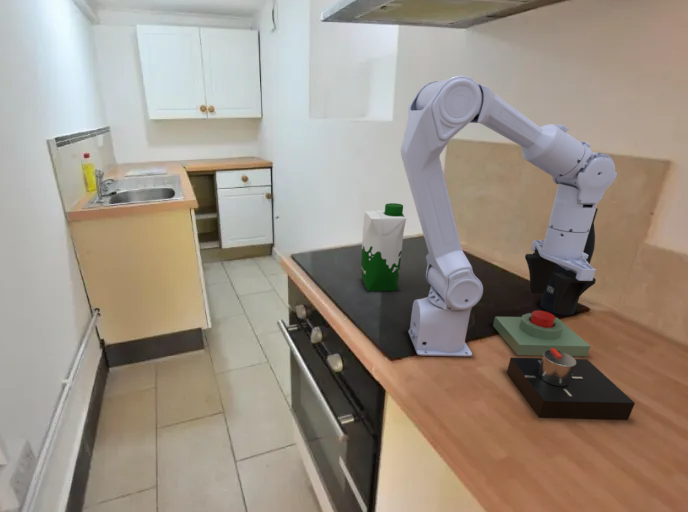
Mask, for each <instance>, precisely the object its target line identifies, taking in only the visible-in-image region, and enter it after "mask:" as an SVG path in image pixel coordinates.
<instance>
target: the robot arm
mask: <svg viewBox="0 0 688 512" xmlns="http://www.w3.org/2000/svg"><path fill="white" fill-rule="evenodd" d="M407 116H408V117H407V121H406V126H405V130H404V134H403V138H402V143H401V146H400V156H401V161H402V164H403V167H404V170H405V175H406V179H407V180H408V185H409V188H410V191H411V195H412V199H413V202H414V206H415V209H416V213H417V215H418V216H417V217H418V220H419V223H420V227H421V231H422V235H423V237H424V241H425V244H426V249H427V252H428V253H427V255H426V256H425V260H426V264H427V266H426V270H425V279H426V281H427V283H428V284H429V286H430V288H429V292H428V296H427V297H426V296H425V297H423V298H417V299H414V301H413V303H412V308H411V315H410V324H409V325H410V326H409V329H408V335H409V338H410V341H411V343H412V345H413V347H414V350H415V352H416V354H417V355H418V356H425V357H429V356H433V357H472V356H473V352H472V351H471V349H470V347H469V346H468V344H467V343H466V339H467V338H466V337H467V332H468V328H469V322H470V316H471V311H472V310H473V307H475V306H476V305H477V304H478V303H479V302H480V300H481V299H482V297H483V293H484V286H483V283H482V281H481V280H480V279H479V278H478V277H477V276H476V275H475V273H474V271H473V266H472V264H471V263H470V261H469V259H468V257H467V256H466V254H465V253H464V252H465V251H463V248H462V244H461V240H460V236H459V231H458V227H457V223H456V220H455V219H456V218H455V215H454V211H453V208H452V203H451V199H450V195H449V191H448V187H447V183H446V179H445V174H444V170H443V166H442V162H441V159H440V157H441V154H442V152H443V151H444V149H445V148H446V147H447V145H448V143H449V142H450V140H451V139H453V138H454V137H455V136H456V135H457V134H458V133H459V132H461V131H462V130H463V129H464V128H465V127H467V125H469V124H480V125H482V126H484V127H486V128H488V129H490V130H492V131H493V132H495V133H497V134H499V135H500V136H503V137H504V138H506V139H508V140H509V141H511V142H513V143H515V144H516V145H519V146H521V155H522V158H523V159H524V160H525V161H527V162H528V163H530V164H531V165H533V166H534V167H536V168H538V169H539V170H541V171H542V172H544V173H546V174H548V175H549V176H551V178H552V181H553V182H554V183H555V184H556V185H557V189H556V193H555V196H554V200H553V205H552V207H551V211H550V216H549V220H548V224H547V228H546V232H545V237H544V239H533V240H532V244H531V247H530V249H531V251H533V252H532V253H526V254H525V255H524V259H525V261H526V264H527V267H528V273H529V290H530V293H531V294H543V293H544V291H545V290H546V288H547V285H548V282H549V279H550V277H551V275H552V273H553V271H554V269H555V268H556V266H557V265H560V266H561V267H563V268H564V269H566V270H568V271H567V274H566V273H553V276H554V280H555V298H554V304H553V311H554V312H555V313H568V312H569V311H570V309H571V308H572V306H573V305H574V303H575V302H576V301H577V299H578V298H579V299H580V297H581V296H582V295H583V294H584V293H585V292H586V291H587V290H588V289H590V288H591V287H592V286H594V285H595V284H596V282H597V279H596V278H595V274H596V270H597V269H596V268H594V267H593V266H592V265H591V264H590V265H589V263H588V262H587V261H586V259H587V258H588V254H586V253H584V252H583V251H584V247H585V244H586V241H587V237H588V234H589V230H590V227H591V224H592V221H593V217H594V214H595V211H596V208H598V207H597V206H598V204H599V203H600V201H602V200H603V197H604V194H605V192H606V190H608V188H610V187H611V185H612V184H614V182H615V180H616V179H617V177H618V172H616V163H615V162H614V159H613V158H612V157H611V156H610V155H609V154H607V153H603V152H596V151H592V148H591V143H589V142H588V141H583V140H582V141H580V140H578V139H577V138H575V137H574V136H572V135H570V134H569V133H568V131H569V127H567V126H566V125H564V124H561V123H560V124H558V123H557V124H553V123H549V124H544V125H541V126H539V125H537V124H536V123H535V122H534V121H532V119H530V118H528V117H527V116H525V115H524V114H523V113H522V112H520V111H519V110H517V109H516V108H515V107H514V106H512V105H511V104H509V103H508V102H507V101H505V100H504V99H503V98H501V97H500V96H498V95H497V94H496V93H495V92H494V91H493V90H492V89H491V88H490V87H489V86H487V85H484V84H482V83H478V82H477V81H476V80H474V79H473V78H472V77H470V76H468V75H456V76H453V77H450V78H448V79H442V80H435V81H434V80H433V81H430V82H428V83H426V84H424V85H423V86H421V88H420V89H419V90H418V92H417V93H416V95H414V97H413V99H412V100H411V101H410V104H409V105H408V106H407Z"/></svg>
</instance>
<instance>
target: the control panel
mask: <svg viewBox="0 0 688 512" xmlns="http://www.w3.org/2000/svg"><path fill="white" fill-rule="evenodd" d="M542 358H543V357H510V358H509V362H508V367H507V372H506V373H507V375H508V376H509V378H510V380H511V381H512V382H513V383H514V384H515V386H516V388H517V389H518V390H519V391H520V393H521V395H522V396H523V397H524V399H525V400H526V401H527V402H528V405H530V407H531V408H532V410H533V411H534V412H535V414H536V415H537V416H538V418H546V419H575V420H576V419H579V420H580V419H581V420H611V421H613V420H617V421H618V420H619V421H628V420H629V418H630V416H631V414H632V412H633V409H634V407H635V404H636V402H635V401H634V400H632V399H631V398H630V397H629V396H628V395H627V394H626V393H625V392H624V391H623V390H621V388H619V387H618V386H617V384H615V383H614V382H613V381H612V380H611V379H609V377H607V376H606V375H605V374H604V373H603V372H602V371H601V370H600V369H598V368H597V367H596V366H595V365H594V364H593V363H592V362H591V361H590V360H589V359H587V358H574V359H575V360H576V366H575V369H574V372H573V375H572V378H571V381H570V384H569V385H567V386H556V385H552V384H550V383H547V382H546V381H544V380H543V379H541V378H540V376H539V374H538V372H539V368H540V365H541V361H542Z"/></svg>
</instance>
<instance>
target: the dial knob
mask: <svg viewBox="0 0 688 512" xmlns="http://www.w3.org/2000/svg"><path fill="white" fill-rule="evenodd" d="M541 358H542V361H541V365H540V368H539V372H538V374H539V376H540V378H541V379H543V380H544V381H546V382H547V383H550V384H552V385H556V386H567V385H569V384H570V381H571V378H572V375H573V372H574V369H575V366H576V360H575V359H576V358H574V356H570V355H568V354H566V353H564V352H561V351H557V350H556V349H555V348H551V350H547V351H545V352H544V354H543V356H542V357H541Z"/></svg>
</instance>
